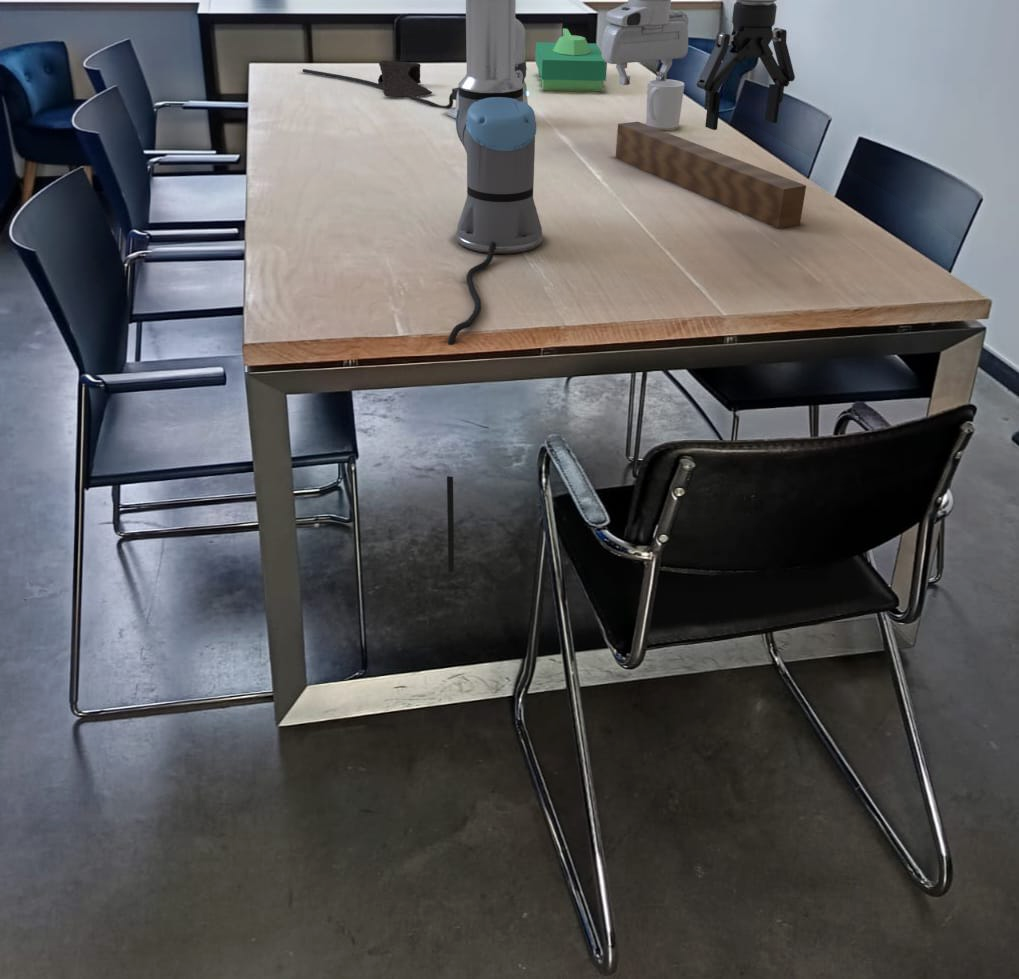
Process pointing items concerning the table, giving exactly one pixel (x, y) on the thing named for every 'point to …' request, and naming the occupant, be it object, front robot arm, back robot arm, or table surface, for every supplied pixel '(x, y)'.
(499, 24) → the front robot arm
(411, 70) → the axe head
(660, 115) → the mug
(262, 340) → the table surface
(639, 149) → the post
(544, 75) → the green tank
